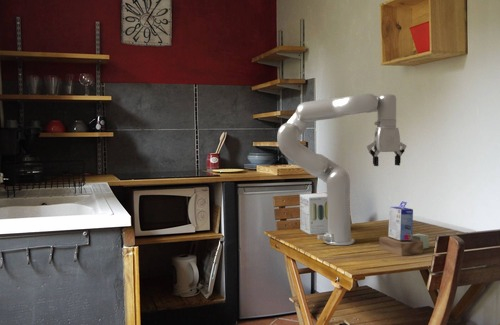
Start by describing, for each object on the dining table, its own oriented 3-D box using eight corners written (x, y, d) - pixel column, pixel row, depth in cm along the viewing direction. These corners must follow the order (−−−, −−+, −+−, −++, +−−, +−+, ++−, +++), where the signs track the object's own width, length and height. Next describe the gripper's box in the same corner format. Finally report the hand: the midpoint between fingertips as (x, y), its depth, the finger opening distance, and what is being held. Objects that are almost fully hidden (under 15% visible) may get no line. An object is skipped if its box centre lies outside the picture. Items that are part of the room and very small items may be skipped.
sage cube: (420, 249, 203) (420, 236, 203) (410, 247, 208) (410, 235, 207) (429, 247, 206) (428, 235, 206) (418, 245, 210) (418, 233, 210)
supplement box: (309, 234, 238) (308, 197, 237) (300, 229, 251) (299, 194, 250) (336, 232, 241) (335, 195, 240) (325, 227, 254) (324, 192, 253)
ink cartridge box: (413, 240, 197) (413, 203, 197) (400, 241, 196) (400, 203, 196) (400, 236, 207) (400, 200, 207) (387, 236, 206) (388, 200, 205)
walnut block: (401, 257, 194) (401, 243, 193) (379, 249, 207) (379, 237, 206) (423, 254, 197) (423, 241, 197) (400, 246, 210) (400, 234, 210)
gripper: (371, 124, 208) (371, 166, 209) (410, 124, 212) (410, 165, 213) (363, 124, 215) (363, 165, 217) (401, 124, 219) (401, 164, 220)
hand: (386, 165), depth 215 cm, fingers open, 9 cm apart
